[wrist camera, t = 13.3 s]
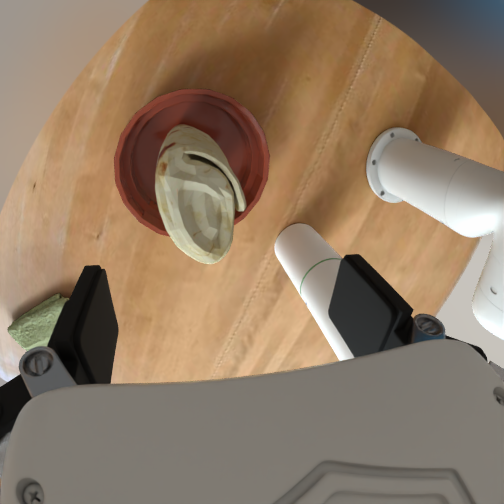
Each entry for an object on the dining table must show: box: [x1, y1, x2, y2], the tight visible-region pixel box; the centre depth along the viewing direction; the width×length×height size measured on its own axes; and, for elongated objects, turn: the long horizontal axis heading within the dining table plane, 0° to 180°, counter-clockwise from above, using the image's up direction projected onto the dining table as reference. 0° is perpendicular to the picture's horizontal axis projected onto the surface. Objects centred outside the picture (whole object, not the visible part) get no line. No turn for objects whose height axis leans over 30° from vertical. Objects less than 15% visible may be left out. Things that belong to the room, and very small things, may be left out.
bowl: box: [114, 89, 270, 237], centre depth 33 cm, size 17×17×6 cm
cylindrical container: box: [275, 223, 354, 361], centre depth 35 cm, size 7×7×25 cm
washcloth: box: [7, 293, 69, 351], centre depth 41 cm, size 13×18×3 cm
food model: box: [155, 124, 246, 264], centre depth 27 cm, size 10×7×20 cm
